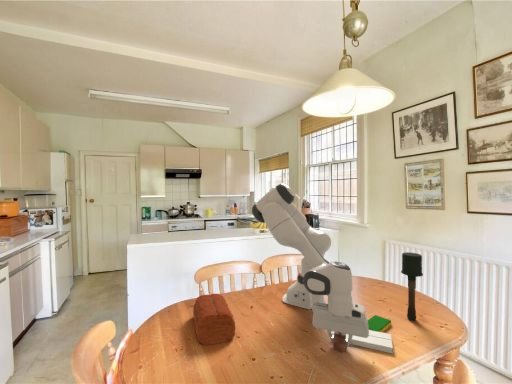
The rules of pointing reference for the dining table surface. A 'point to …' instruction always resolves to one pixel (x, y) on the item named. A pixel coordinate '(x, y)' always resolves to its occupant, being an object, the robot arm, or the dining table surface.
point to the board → (373, 341)
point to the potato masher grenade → (411, 279)
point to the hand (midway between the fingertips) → (339, 343)
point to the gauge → (339, 341)
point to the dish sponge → (378, 323)
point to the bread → (213, 319)
